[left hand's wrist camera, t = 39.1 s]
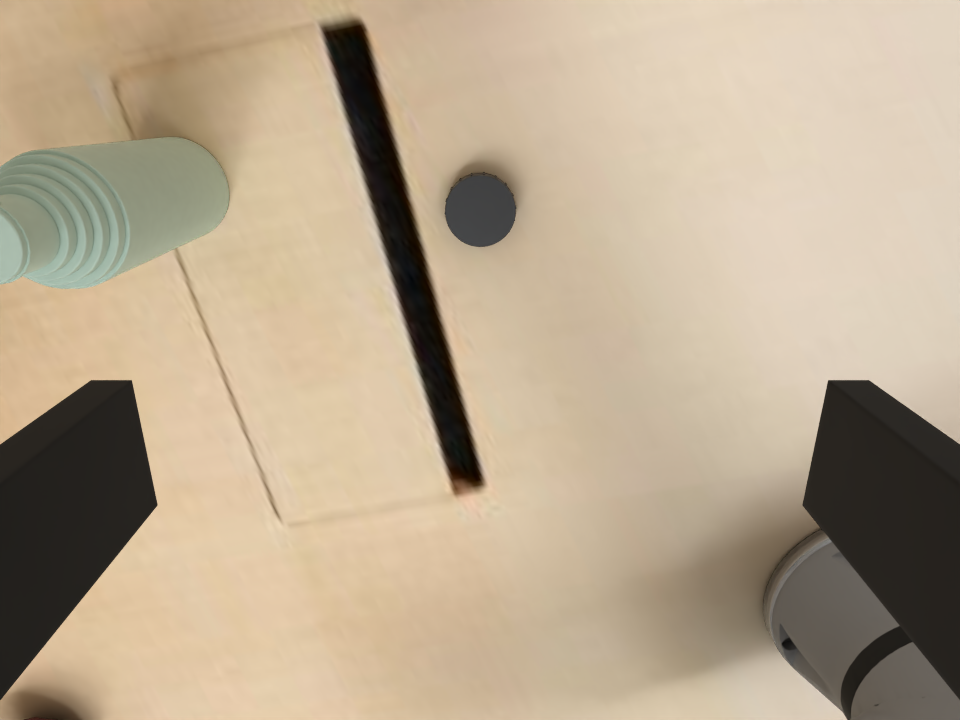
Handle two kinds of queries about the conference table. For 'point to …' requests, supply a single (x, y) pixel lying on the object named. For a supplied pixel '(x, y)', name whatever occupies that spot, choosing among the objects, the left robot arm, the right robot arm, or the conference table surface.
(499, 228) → the cap
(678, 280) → the conference table surface
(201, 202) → the bottle
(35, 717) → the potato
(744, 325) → the conference table surface
